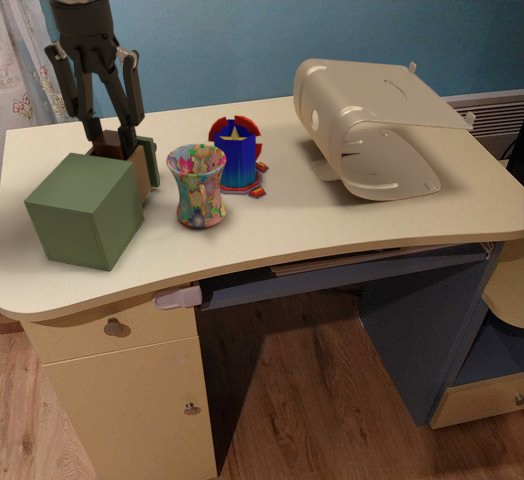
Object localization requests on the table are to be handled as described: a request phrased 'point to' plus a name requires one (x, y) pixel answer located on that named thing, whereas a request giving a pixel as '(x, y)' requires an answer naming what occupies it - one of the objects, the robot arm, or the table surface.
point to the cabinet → (87, 210)
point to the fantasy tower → (239, 156)
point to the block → (109, 145)
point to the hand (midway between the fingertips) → (117, 161)
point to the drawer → (143, 165)
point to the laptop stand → (376, 111)
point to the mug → (198, 183)
